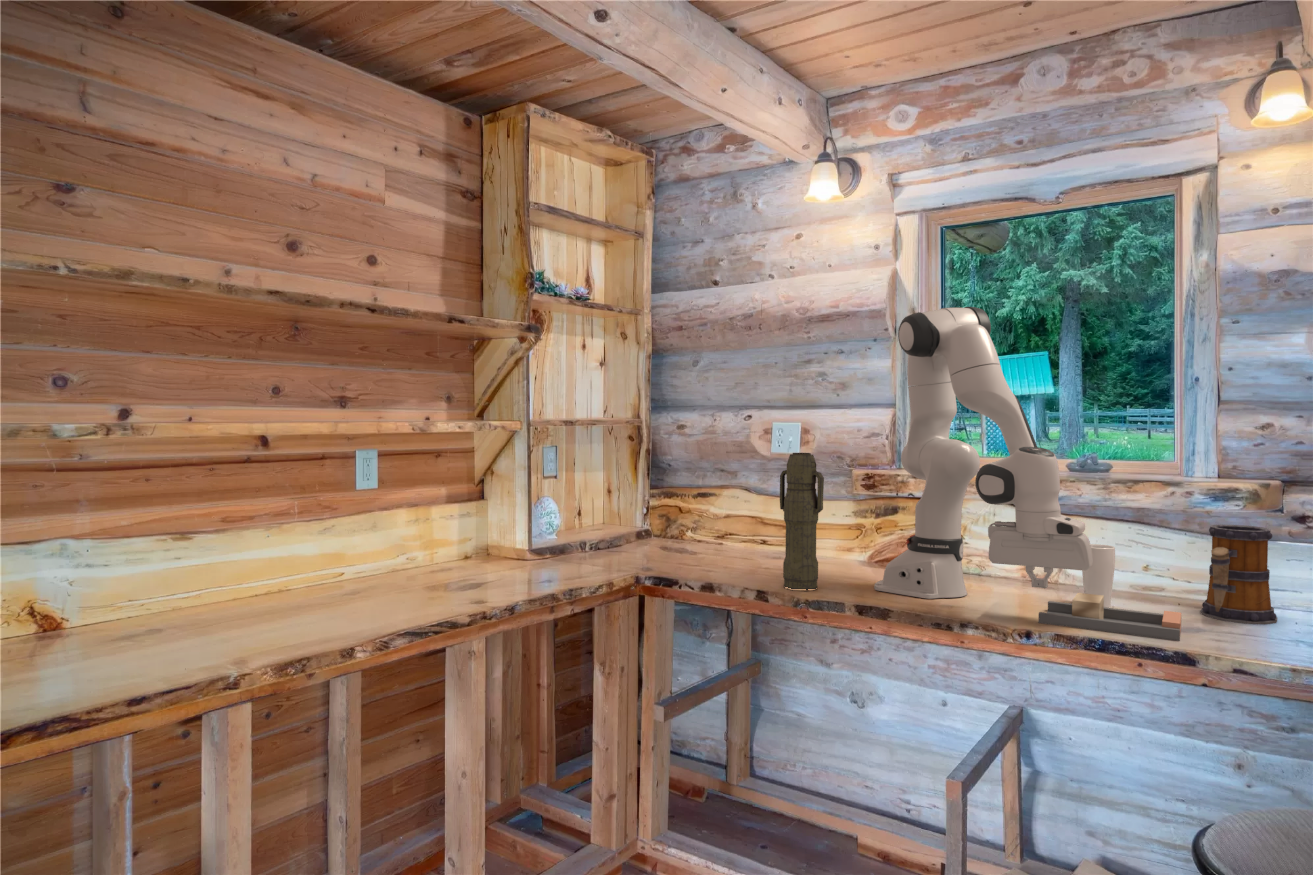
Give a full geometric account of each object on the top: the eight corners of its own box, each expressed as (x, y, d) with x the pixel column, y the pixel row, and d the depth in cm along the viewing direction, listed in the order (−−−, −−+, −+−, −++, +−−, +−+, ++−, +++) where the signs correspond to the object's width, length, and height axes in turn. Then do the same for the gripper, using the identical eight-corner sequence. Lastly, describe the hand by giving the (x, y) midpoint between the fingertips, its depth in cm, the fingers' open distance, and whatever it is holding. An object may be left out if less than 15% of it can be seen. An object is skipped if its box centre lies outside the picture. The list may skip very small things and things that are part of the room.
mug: (1254, 631, 174) (1256, 535, 173) (1178, 617, 185) (1180, 528, 185) (1288, 618, 185) (1290, 528, 184) (1215, 606, 197) (1216, 521, 196)
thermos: (817, 593, 209) (818, 454, 208) (773, 588, 215) (774, 453, 214) (828, 587, 217) (829, 453, 216) (785, 582, 223) (786, 451, 222)
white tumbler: (1094, 615, 187) (1095, 548, 187) (1074, 608, 194) (1075, 544, 193) (1121, 613, 188) (1122, 548, 188) (1099, 607, 195) (1100, 543, 195)
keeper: (1071, 624, 173) (1072, 600, 173) (1077, 615, 180) (1077, 592, 180) (1099, 627, 170) (1099, 603, 170) (1103, 618, 178) (1103, 595, 177)
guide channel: (1038, 629, 174) (1038, 608, 174) (1048, 616, 186) (1049, 596, 186) (1179, 648, 160) (1180, 625, 160) (1181, 632, 172) (1181, 611, 172)
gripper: (983, 522, 182) (985, 585, 182) (1087, 527, 169) (1088, 595, 170) (991, 518, 187) (993, 579, 187) (1093, 523, 174) (1094, 588, 175)
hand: (1039, 587), depth 179 cm, fingers closed
